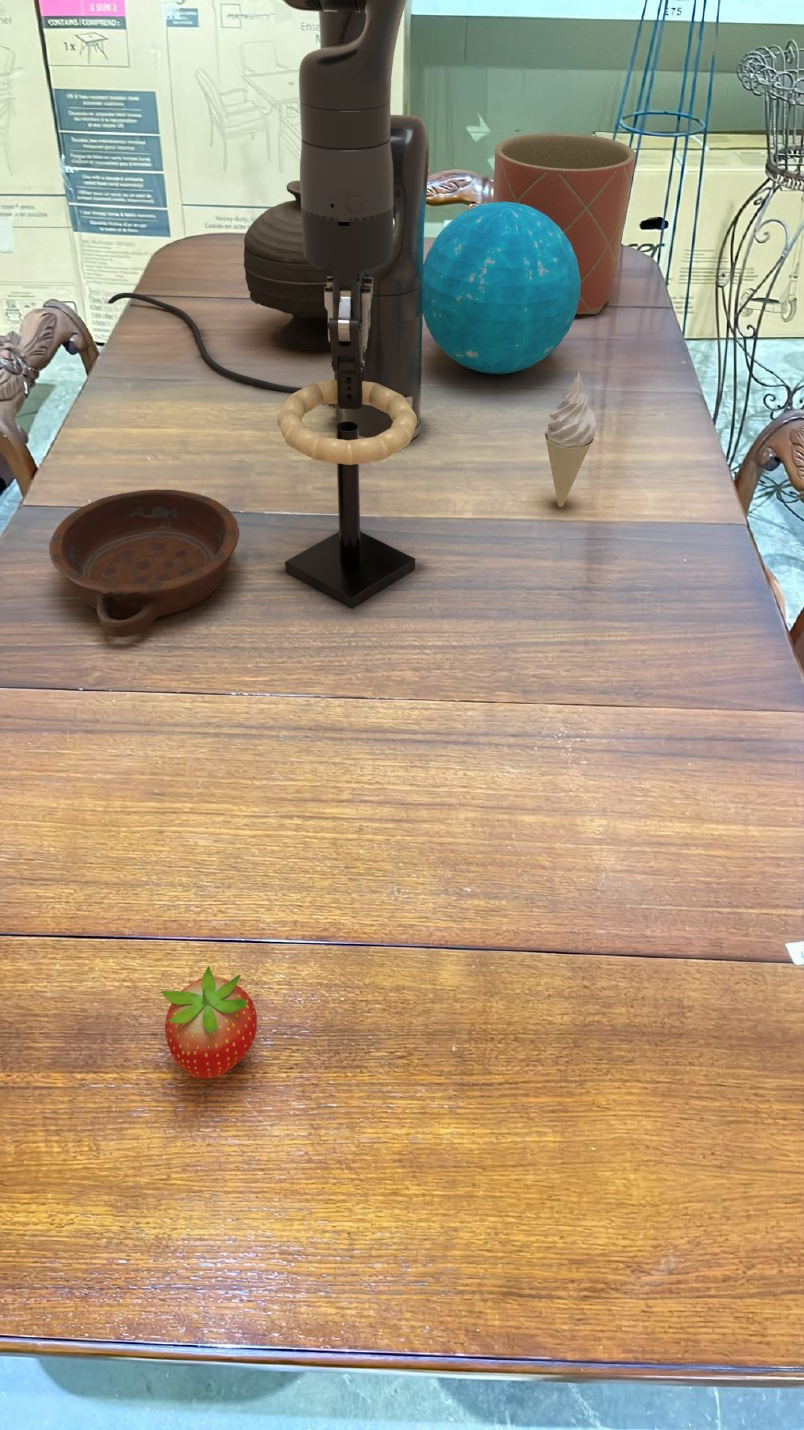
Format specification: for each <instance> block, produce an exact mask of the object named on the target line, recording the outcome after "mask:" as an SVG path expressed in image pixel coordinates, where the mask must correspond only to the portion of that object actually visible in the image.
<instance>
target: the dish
mask: <svg viewBox="0 0 804 1430" xmlns="http://www.w3.org/2000/svg"><path fill="white" fill-rule="evenodd" d="M239 538H240V528H239V525H238V521H237V519H236V518H235V516H234V515H233V513H232V512H231V511H230V510H229V508H227V506H224V505H223V504H222V503H220V502H219V501H217V500H216V499H213V498H211V497H209V496H206V495H204V494H203V495H202V494H200V493H195V492H190V491H185V490H178V489H160V488H159V489H142V490H135V491H129V492H122V493H118V494H113V495H108V496H104V497H101V498H99V499H97V500H94V501H93V502H90V503H88V504H85V505H84V506H82V507H80V508H77V509H76V510H74V511H73V512H71V513H70V514H69V515H67V516H66V517H65V518H64V519H63V520H62V521H61V522H60V523H59V524H58V526H57V527H56V529H55V530H54V532H53V534H52V536H51V538H50V542H49V545H48V554H49V557H50V561H51V564H52V565H53V566H54V568H55V569H56V570H57V571H58V572H59V573H60V574H61V575H62V576H63V577H65V578H66V580H67V582H68V583H69V584H70V587H71V588H72V590H73V591H74V592H75V594H76V595H77V596H78V597H79V598H80V599H81V600H82V601H83V602H84V603H86V605H89V606H90V607H91V608H92V609H95V610H96V613H97V617H98V620H99V624H100V626H101V628H102V630H103V631H104V633H105V634H107V635H109V636H110V637H114V638H125V637H130V636H134V635H137V634H138V633H141V632H142V631H144V630H145V629H147V628H148V627H149V626H150V625H152V623H153V622H154V621H155V620H156V619H158V617H159V618H160V617H165V616H168V615H173V614H176V613H179V612H181V611H185V610H186V609H187V610H188V609H189V608H192V607H193V606H195V605H197V604H199V603H200V602H202V601H203V600H205V599H206V598H207V597H209V596H210V595H211V594H212V593H213V592H214V591H215V590H216V589H217V588H218V587H219V585H220V584H221V583H222V580H223V579H224V576H225V574H226V572H227V569H228V566H229V563H230V560H231V557H232V555H233V553H234V552H235V550H236V549H237V546H238V542H239ZM113 617H116V618H123V619H115V618H113Z"/></svg>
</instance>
